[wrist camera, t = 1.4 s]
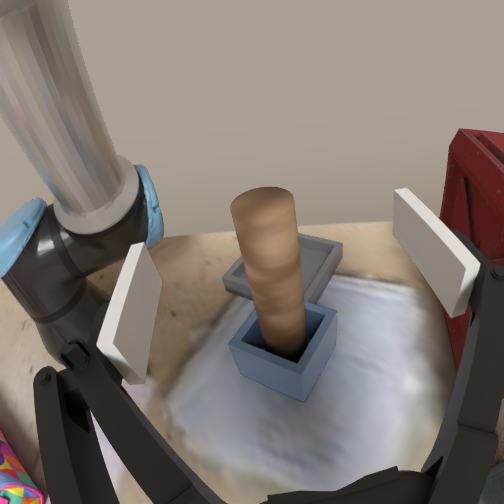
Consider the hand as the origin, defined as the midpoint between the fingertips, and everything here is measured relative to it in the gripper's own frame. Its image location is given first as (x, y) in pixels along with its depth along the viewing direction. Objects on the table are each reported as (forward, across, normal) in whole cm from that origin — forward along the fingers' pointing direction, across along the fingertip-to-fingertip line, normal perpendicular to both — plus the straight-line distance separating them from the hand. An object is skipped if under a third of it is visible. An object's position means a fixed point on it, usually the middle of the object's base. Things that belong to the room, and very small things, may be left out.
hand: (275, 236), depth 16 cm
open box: (+10, -1, -26) cm, 28 cm away
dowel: (+10, -1, -25) cm, 27 cm away
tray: (+26, +2, -25) cm, 36 cm away
